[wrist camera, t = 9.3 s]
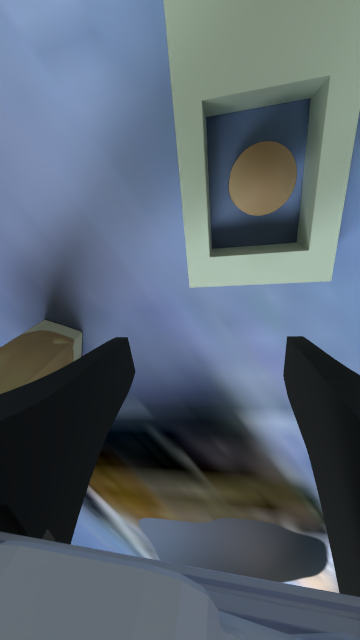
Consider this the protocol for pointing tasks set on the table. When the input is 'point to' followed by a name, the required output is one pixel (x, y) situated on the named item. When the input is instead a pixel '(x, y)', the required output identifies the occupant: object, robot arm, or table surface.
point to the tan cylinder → (262, 178)
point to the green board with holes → (259, 91)
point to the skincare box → (38, 354)
